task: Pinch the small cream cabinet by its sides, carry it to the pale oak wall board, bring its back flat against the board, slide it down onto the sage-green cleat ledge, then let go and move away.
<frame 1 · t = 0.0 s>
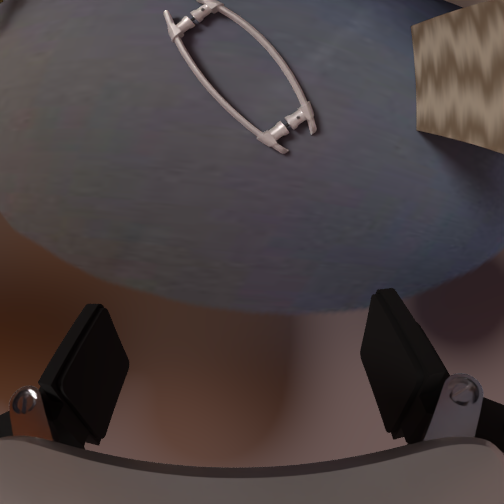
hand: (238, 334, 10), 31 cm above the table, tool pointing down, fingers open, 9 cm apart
wall board: (461, 86, 31), on the table
door handle: (239, 68, 33), on the table
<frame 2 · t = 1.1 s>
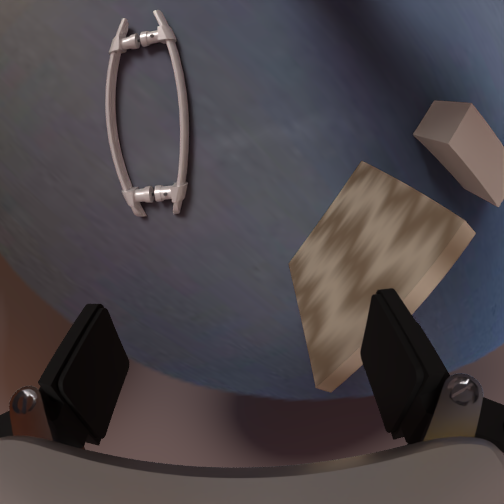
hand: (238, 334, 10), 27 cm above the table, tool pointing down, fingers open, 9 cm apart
cabinet: (451, 146, 32), on the table
wall board: (374, 247, 38), on the table
door handle: (149, 113, 31), on the table
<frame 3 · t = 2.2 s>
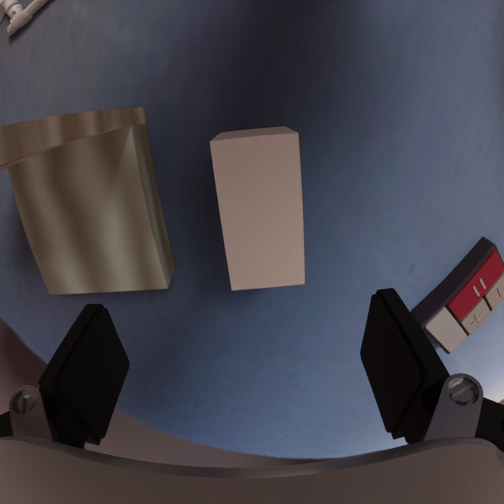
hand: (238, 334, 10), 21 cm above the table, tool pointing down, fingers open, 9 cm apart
calculator: (460, 291, 36), on the table
cabinet: (259, 189, 29), on the table
wall board: (92, 204, 29), on the table
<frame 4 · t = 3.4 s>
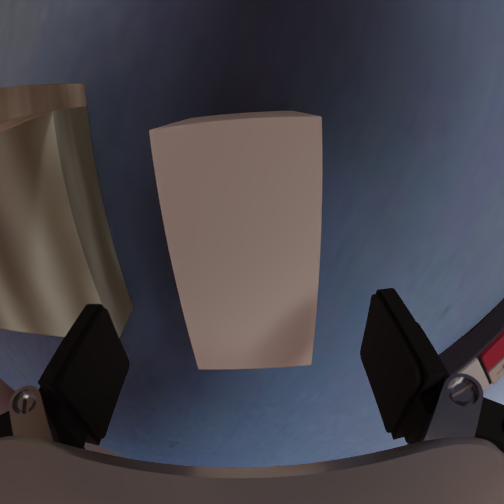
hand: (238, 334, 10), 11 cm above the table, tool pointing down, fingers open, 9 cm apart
calculator: (489, 334, 27), on the table
cabinet: (248, 206, 19), on the table
wall board: (27, 218, 19), on the table
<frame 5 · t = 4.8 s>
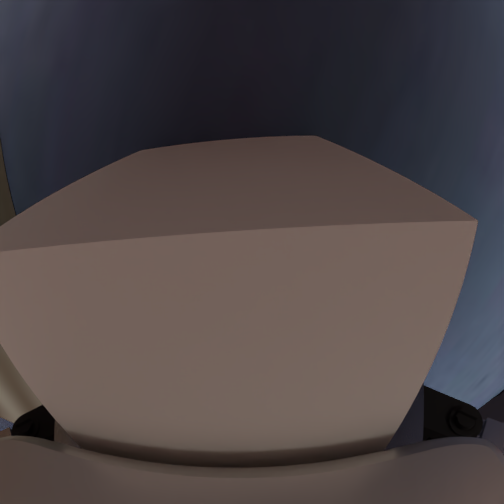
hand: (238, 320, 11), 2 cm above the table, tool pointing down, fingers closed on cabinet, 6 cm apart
cabinet: (240, 292, 12), on the table, touching gripper
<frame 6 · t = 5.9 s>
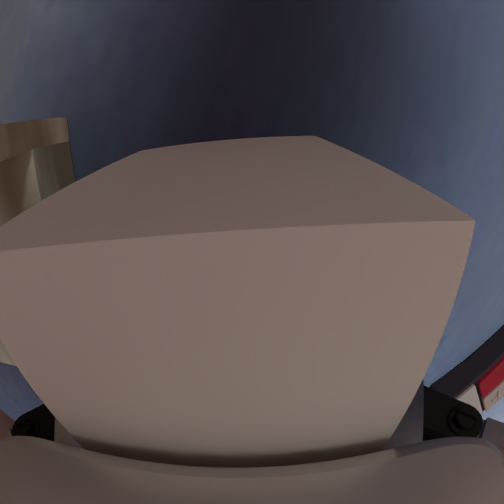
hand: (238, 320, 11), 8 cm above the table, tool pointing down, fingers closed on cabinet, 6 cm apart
calculator: (485, 361, 26), on the table
cabinet: (240, 292, 12), point 7 cm above the table, touching gripper
wall board: (14, 253, 18), on the table
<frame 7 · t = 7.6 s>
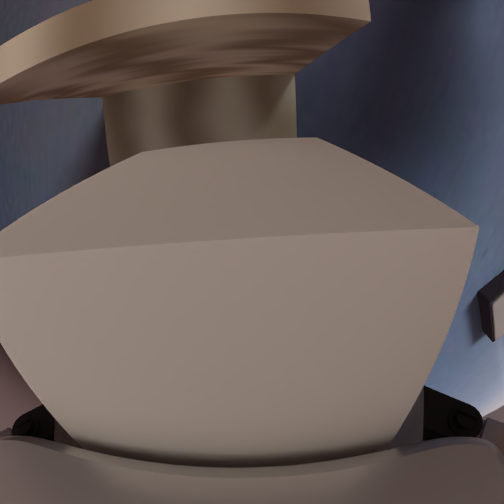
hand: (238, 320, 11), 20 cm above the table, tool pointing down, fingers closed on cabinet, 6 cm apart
cabinet: (241, 294, 12), point 18 cm above the table, touching gripper
wall board: (205, 158, 27), on the table
when the fingers open (6 cm above the table, at t = 11.6 s): cabinet stays where it is, resting on wall board.
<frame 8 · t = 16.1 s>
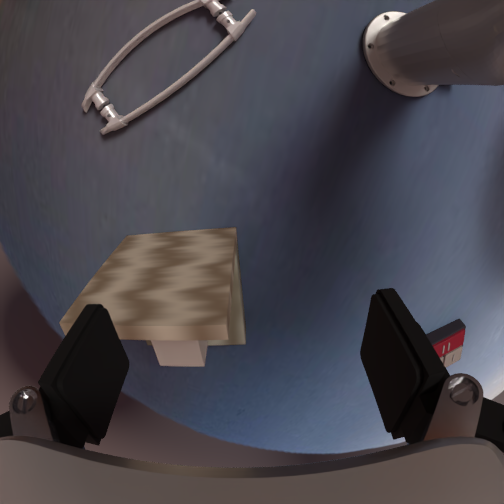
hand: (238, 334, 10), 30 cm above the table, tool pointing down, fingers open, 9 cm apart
calculator: (428, 347, 54), on the table
cabinet: (183, 294, 41), point 4 cm above the table, touching wall board
wall board: (188, 285, 45), on the table
door handle: (164, 59, 31), on the table
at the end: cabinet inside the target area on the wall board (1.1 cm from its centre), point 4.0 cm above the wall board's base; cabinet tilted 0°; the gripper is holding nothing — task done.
